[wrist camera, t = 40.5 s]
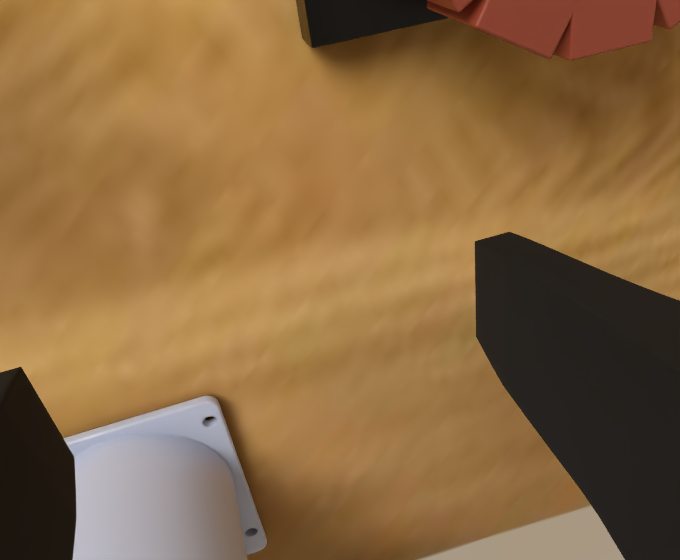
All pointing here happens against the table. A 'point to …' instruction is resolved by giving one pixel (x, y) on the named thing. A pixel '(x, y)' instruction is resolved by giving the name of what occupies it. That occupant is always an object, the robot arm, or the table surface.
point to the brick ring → (564, 22)
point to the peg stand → (358, 18)
